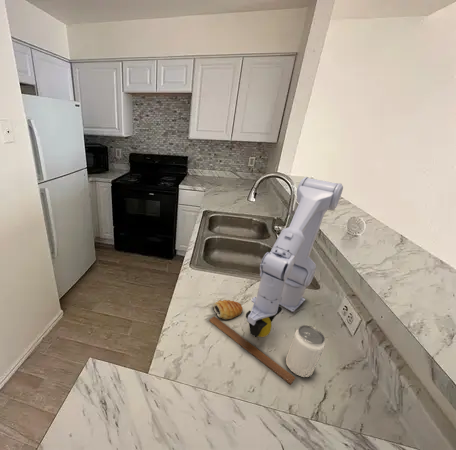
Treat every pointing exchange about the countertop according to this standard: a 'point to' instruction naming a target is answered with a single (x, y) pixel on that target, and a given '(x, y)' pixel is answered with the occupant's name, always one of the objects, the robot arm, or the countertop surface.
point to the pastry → (227, 309)
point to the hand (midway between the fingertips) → (259, 329)
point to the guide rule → (253, 351)
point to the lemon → (266, 327)
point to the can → (305, 350)
